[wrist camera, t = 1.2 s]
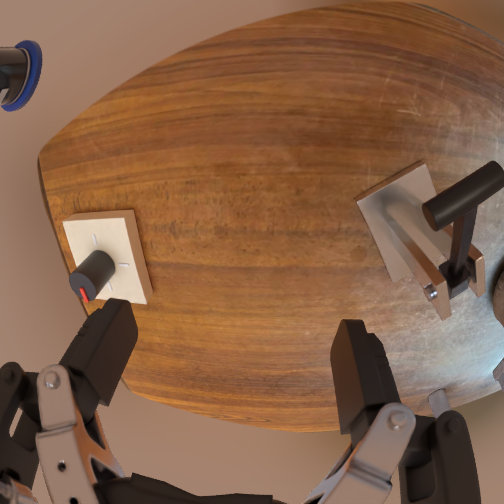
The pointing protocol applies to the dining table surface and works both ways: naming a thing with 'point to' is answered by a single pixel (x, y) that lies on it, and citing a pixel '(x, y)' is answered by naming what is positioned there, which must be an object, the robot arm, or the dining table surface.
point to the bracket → (414, 235)
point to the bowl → (499, 300)
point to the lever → (461, 219)
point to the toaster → (499, 374)
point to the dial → (92, 275)
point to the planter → (439, 402)
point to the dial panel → (112, 251)
